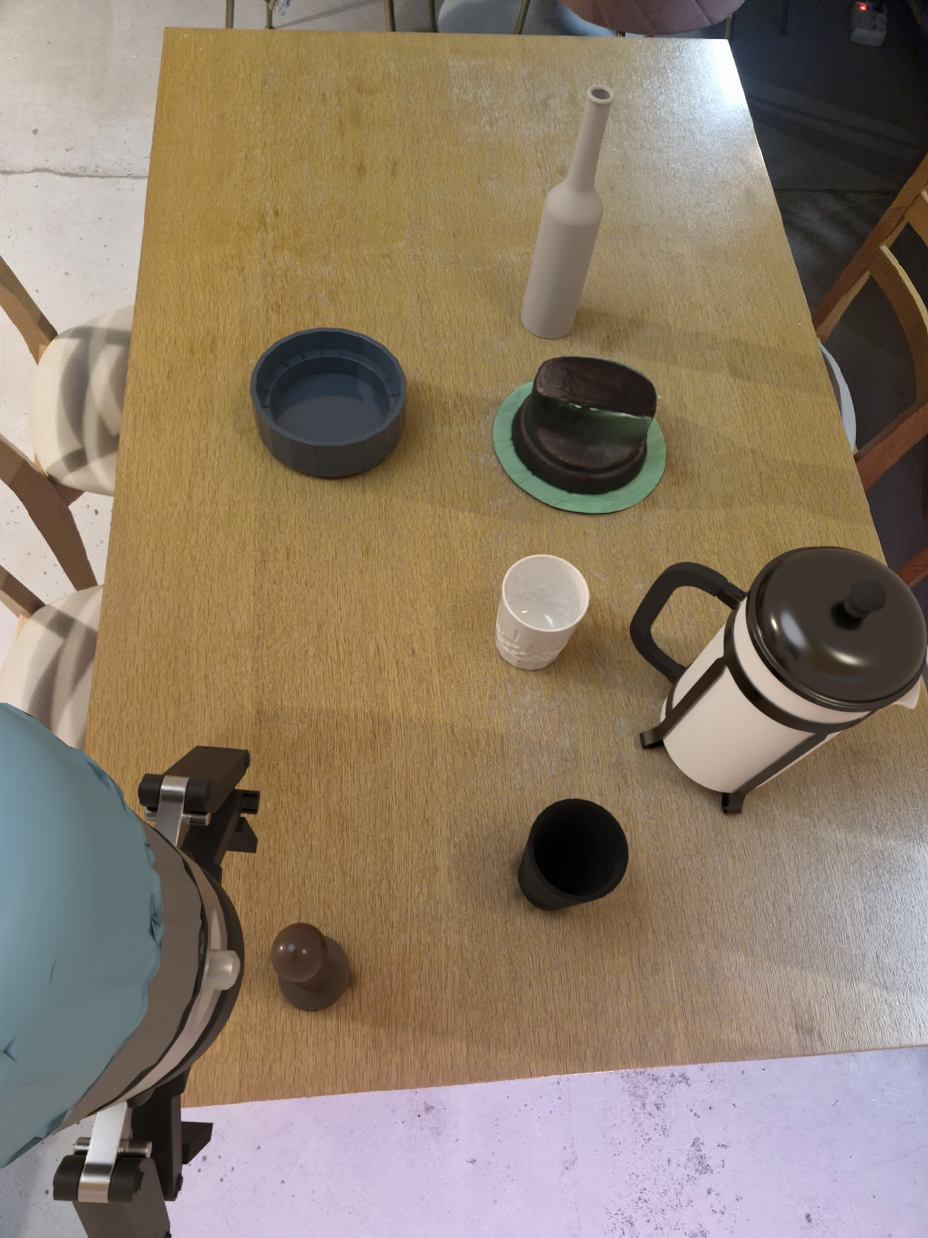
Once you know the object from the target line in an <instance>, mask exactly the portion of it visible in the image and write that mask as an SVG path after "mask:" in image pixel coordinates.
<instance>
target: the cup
mask: <svg viewBox="0 0 928 1238" xmlns="http://www.w3.org/2000/svg"><path fill="white" fill-rule="evenodd" d="M629 855H630V853H629V844H628V840H627V836H626V833H625V831H624V829H623V828H622V826H621V824H620V822H619V821H618V820H617V819H616V817H615V816H614V815H613V814H612V813H611V812H610V811H609V810H607V808H605V807H604V806H602V805H600V804H598V803H596V802H594V801H592V800H588V799H584V798H580V797H576V798H575V797H574V798H564V799H561V800H557V801H554V802H552V803H551V804H549V805H548V806H546V807H545V808H544V809H543V810H542V811H541V812H540V813H539V814H538V815H537V816H536V818H535V819H534V821H533V823H532V825H531V827H530V831H529V834H528V836H527V839H526V843H525V846H524V850H523V852H522V855H521V859H520V862H519V866H518V870H517V882H518V886H519V889H520V892H521V894H522V895H523V896H524V898H525V899H526V900H527V902H528V903H530V904H531V905H532V906H533V907H536V908H537V909H540V910H543V911H549V912H550V911H553V912H554V911H559V910H563V909H568V908H571V907H575V906H578V905H579V906H580V905H583V904H587V903H590V902H593V901H596V900H601V899H602V898H605V897H606V896H608V895H609V894H611V893H612V892H614V890H615V889H616V888H617V887H618V886H619V885H620V883H621V882H622V880H623V878H624V876H625V874H626V872H627V870H628V863H629V860H630V859H629V858H630V857H629Z"/></svg>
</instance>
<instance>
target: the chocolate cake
mask: <svg viewBox="0 0 928 1238" xmlns="http://www.w3.org/2000/svg"><path fill="white" fill-rule="evenodd" d="M660 399H661V396H660V395H659V394H658V393H657V387H655V386H654V381H652V380H651V379H650V378H649V377H648V376H647V375H646V374H644V373H643V372H641V371H640V370H638V369H637V368H634V367H633V365H629V364H627V363H623V362H619V361H615V360H613V359H611V358H608V357H596V356H579V355H562V356H557V357H555V356H554V357H553V358H549V359H547V360H544V361H543V362H542V363H541V365H540V366H539V367H538V368H537V372H536V374H535V376H534V378H533V380H531V381H528V382H526V383H524V384H523V385H521V386H519V387H517V388H515V390H513V391H512V392H511V393H510V394H509V395H508V396H507V397H506V398H505V399H504V400H503V402H502V403H501V404H500V406H499V408H498V410H497V412H496V415H495V417H494V420H493V425H492V442H493V448H494V451H495V454H496V456H497V459H498V460H499V462H500V464H501V466H502V467H503V469H504V471H505V472H506V474H507V475H508V476H509V477H510V478H511V479H512V481H513V482H514V483H515V484H516V485H518V487H519V488H521V489H522V490H523V491H525V492H527V493H528V494H530V495H531V496H532V497H534V498H536V499H537V500H538V501H540V502H542V503H544V504H547V505H549V506H551V507H553V508H558V509H561V510H565V511H571V512H577V513H586V514H602V513H603V514H605V513H607V514H608V513H612V512H619V511H622V510H626V509H628V508H631V507H633V506H634V505H637V504H639V503H640V502H642V501H643V500H644V499H646V497H647V496H649V495H650V494H651V492H652V491H654V489H655V488H656V487H657V485H658V484H659V482H660V481H661V478H662V477H663V474H664V471H665V469H666V468H665V467H666V460H667V447H666V442H665V438H664V434H663V432H662V429H661V427H660V424H659V422H658V421H657V420H656V418H655V416H656V411H657V406H658V402H661V401H660Z"/></svg>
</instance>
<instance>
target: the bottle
mask: <svg viewBox="0 0 928 1238" xmlns="http://www.w3.org/2000/svg"><path fill="white" fill-rule="evenodd" d="M615 100H616V93H615V91H614V90H613V89H612V88H611V87H609V86H608V85H604V84H594V85H591V86H589V88H587V90H586V100H585V101H586V102H585V104H584V105H585V106H584V109H583V114H582V119H581V122H580V127H579V132H578V135H577V139H576V144H575V148H574V151H573V155H572V159H571V162H570V165H569V169H568V171H567V176H566V178H565V179H563V181H561V182H560V183H558V184H556V185H555V186H554V187H553V188H551V190H550V191H549V192H548V193H547V195H546V197H545V200H544V203H543V208H542V213H541V218H540V222H539V227H538V231H537V236H536V241H535V246H534V250H533V255H532V260H531V264H530V269H529V273H528V279H527V283H526V289H525V293H524V297H523V304H522V308H521V312H520V319H521V323H522V325H523V326H524V328H525V329H526V330H527V331H528V332H529V333H531V334H532V335H534V336H536V337H538V338H542V339H548V340H552V339H553V340H557V339H560V338H563V337H565V336H566V335H568V334H569V333H570V332H571V331H572V329H573V327H574V323H575V320H576V316H577V313H578V309H579V305H580V301H581V298H582V294H583V291H584V287H585V282H586V279H587V275H588V271H589V267H590V264H591V260H592V256H593V252H594V248H595V244H596V241H597V238H598V233H599V230H600V226H601V223H602V218H603V214H604V204H603V200H602V198H601V196H600V194H599V193H598V191H597V189H596V188H595V179H596V174H597V169H598V163H599V158H600V152H601V148H602V144H603V139H604V136H605V132H606V126H607V124H608V119H609V115H610V111H611V107H612V103H614V102H615Z"/></svg>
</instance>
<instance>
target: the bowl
mask: <svg viewBox="0 0 928 1238" xmlns="http://www.w3.org/2000/svg"><path fill="white" fill-rule="evenodd" d="M249 386H250V387H249V394H250V395H249V396H250V399H251V404H252V411H253V415H254V421H255V422H254V423H255V425H256V428H257V429H256V430H257V432H258V435H259V437H260V441H261V442H262V444H263V445H264V446H265V447H266V449H267V450H268V451H269V452H270V453H271V455H273V457H274V458H275V459H276V460H277V461H280V462H281V463H283V464H284V465H286V466H288V467H289V468H290V469H292V470H295V471H298V472H301V473H304V474H308V475H312V476H315V477H333V478H334V477H336V478H337V477H346V476H350V475H355V474H358V473H359V474H360V473H362V472H366V471H368V470H369V469H371V468H373V467H374V466H376V465H379V464H380V463H382V462H383V461H385V460H386V459H387V458H388V457H389V456H390V454H391V453H392V452H393V451H394V450H395V449H396V448H397V447H398V445H399V443H400V441H401V438H402V436H403V433H404V431H405V427H406V413H407V412H406V410H407V377H406V374H405V372H404V370H403V368H402V365H401V363H400V360H399V359H398V358H397V357H396V356H395V355H394V354H393V353H392V352H391V350H389V349H388V347H387V346H386V345H384V344H383V343H381V342H379V341H378V340H376V339H374V338H372V337H370V336H369V335H367V334H365V333H362V332H358V331H354V330H351V329H347V328H343V327H322V326H321V327H314V328H308V329H303V330H298V331H295V332H293V333H290V334H289V335H286V336H284V337H282V338H280V339H278V340H276V341H275V342H274V343H273V344H272V345H270V346H269V347H267V349H266V350H265V351H264V352H263V353H261V354H260V355H259V358H258V360H257V362H256V364H255V365H254V367H253V369H252V371H251V375H250V384H249Z"/></svg>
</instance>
